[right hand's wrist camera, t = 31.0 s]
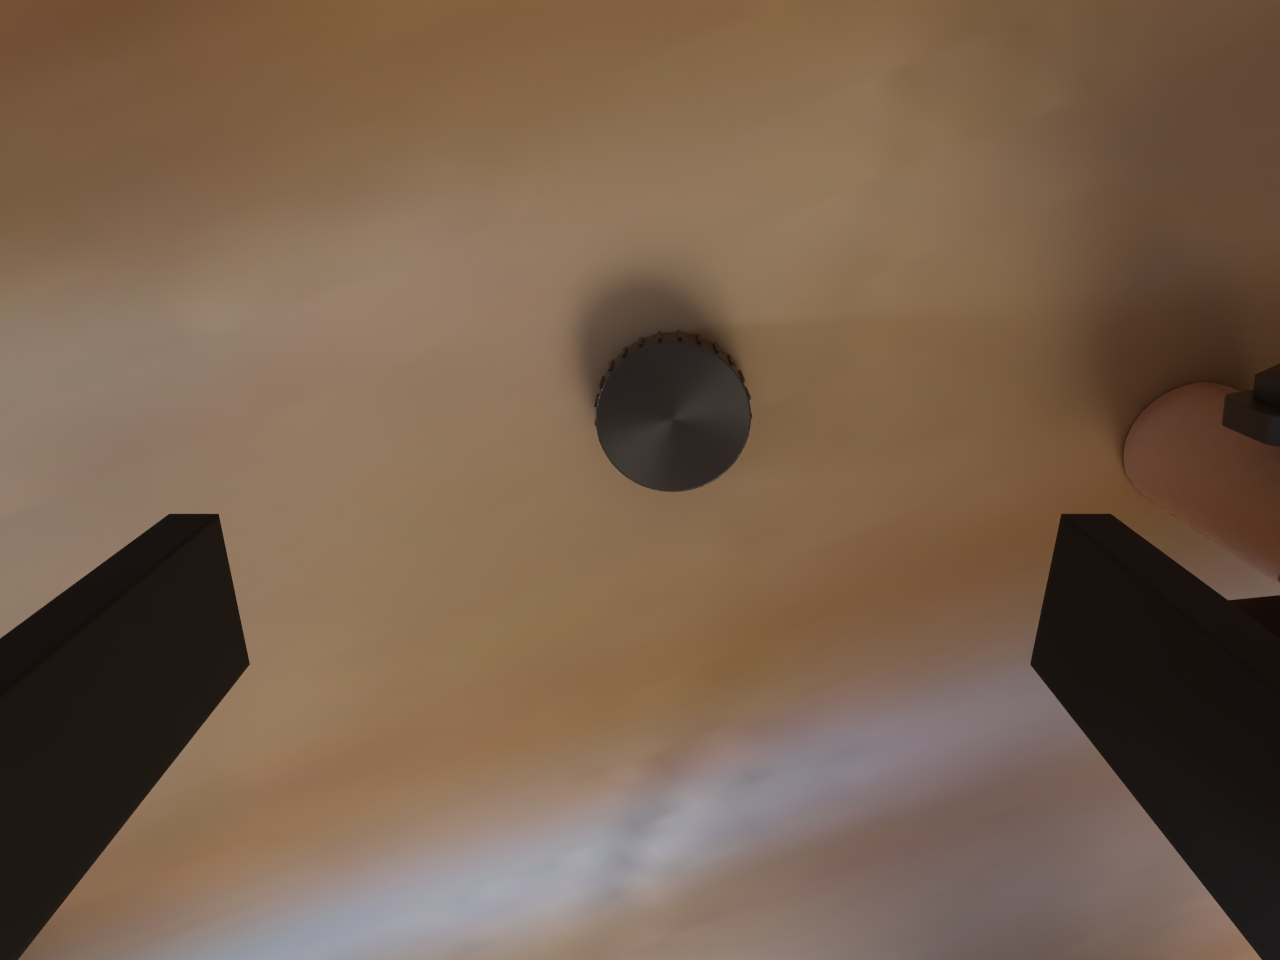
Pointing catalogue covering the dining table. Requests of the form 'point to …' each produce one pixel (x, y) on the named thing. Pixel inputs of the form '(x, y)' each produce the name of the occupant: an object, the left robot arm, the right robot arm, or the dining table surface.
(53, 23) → the dining table surface
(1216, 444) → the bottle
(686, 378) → the lid
